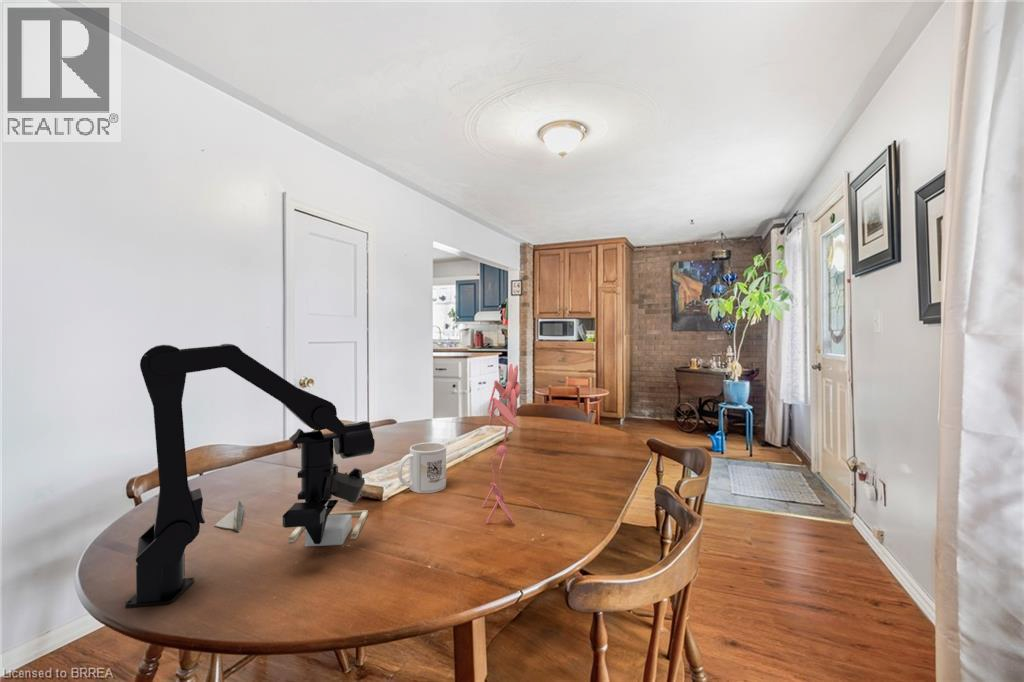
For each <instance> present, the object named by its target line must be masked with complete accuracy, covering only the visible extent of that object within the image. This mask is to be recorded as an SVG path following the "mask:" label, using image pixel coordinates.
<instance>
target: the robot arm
mask: <svg viewBox="0 0 1024 682" xmlns="http://www.w3.org/2000/svg"><path fill="white" fill-rule="evenodd" d="M139 361H140V363H139V368H140V371H141V374H142V375H141V376H142V377H143V380H144V384H145V387H146V390H147V393H148V395H149V398H150V401H151V404H152V408H153V423H154V434H155V445H156V447H155V448H156V457H157V470H158V471H157V472H158V482H159V484H158V485H159V486H158V487H159V492H158V496H157V497H158V499H157V503H156V510H155V517H154V523H153V524H152V525H151V526H150V527H148V529H146V531H145V532H144V533H143V534H141V535H140V536H139V537H138V540H137V548H136V555H135V562H136V566H135V576H136V577H135V580H136V581H135V584H136V585H135V586H136V587H135V590H136V591H135V592H136V593H135V594H134V595H133V596H132V597H131V598H130V599H128V600H127V601H125V603H124V607H125V608H128V607H145V606H155V605H156V606H158V605H169V604H171V603H173V602H174V601H175V600H176V599H177V598H178V597H180V596H181V594H183V593H184V592H185V591H186V590H187V589H188V588H189V587H190V586H191V585H192V584H193V583H194V582H195V577H185V576H186V575H185V574H186V567H185V566H186V565H185V563H186V559H185V557H186V554H185V550H186V548H187V546H188V545H189V544H191V543H192V542H193V541H194V540H195V539H196V538H197V537H198V535H199V534H200V529H201V524H202V525H203V524H205V523H206V520H205V515H204V511H203V501H204V500H203V499H204V498H203V494H202V489H201V488H197V489H194V490H191V487H190V485H189V481H188V480H189V479H188V469H187V468H188V467H187V454H186V453H187V452H186V441H185V426H184V415H183V397H184V391H185V385H186V378H187V374H189V373H195V372H196V373H197V372H203V371H209V370H215V369H220V368H225V369H228V370H229V371H231V372H233V373H234V374H236V375H238V376H239V377H241V378H242V379H243V380H245V381H247V382H248V383H250V384H251V385H254V386H255V387H256V388H258V389H259V390H262V391H263V392H265V393H266V394H267V395H269V396H271V397H272V398H274V399H276V400H277V401H279V402H280V403H281V404H282V405H283V406H284V407H285V408H286V409H288V411H289V412H291V413H292V414H293V415H294V416H295V417H296V418H297V419H298V420H299V421H300V422H301V423H302V424H304V425H306V426H307V427H308V428H310V429H312V431H303V430H302V429H301V428H298V429H297V430H296V431H295V433H294V434H293V435H291V436H290V437H289V438H288V440H289V441H290V442H291V443H292V444H293V445H300V449H301V450H300V452H301V453H300V455H301V456H300V458H301V459H300V460H301V461H300V464H301V465H300V466H301V467H300V468H301V469H300V470H299V471H298V472H297V479H301V480H300V481H301V487H300V488H301V489H300V490H301V491H300V492H299V493H297V500H298V501H300V500H304V502H295V503H293V504H292V506H290V507H289V509H287V510H286V512H285V513H284V514H282V527H283V528H297V527H305V528H304V530H305V531H306V530H307V532H308V534H309V535H310V537H311V539H312V540H313V542H314V544H320V543H321V541H322V538H323V534H324V530H325V526H326V521H327V518H328V515H329V514H330V512H333V509H334V508H335V507H336V505H337V504H338V503H339V500H338V499H339V498H340V499H342V500H346V501H347V502H349V503H353V504H355V503H356V502H357V501H358V499H359V497H361V493H362V490H363V488H364V485H365V482H366V481H365V479H366V478H365V477H363V472H362V469H359V468H356V467H354V468H353V469H351V471H350V472H349V473H348V472H339V466H338V465H337V463H335V462H334V458H335V457H334V455H339V456H340V458H341V459H343V460H345V459H351V458H356V457H362V456H367V455H368V456H369V455H372V454H373V453H374V451H375V446H376V445H375V442H376V441H375V438H374V436H373V435H374V434H373V431H372V429H371V423H370V422H369V421H366V420H363V421H358V422H356V423H347V424H344V422H342V420H341V419H340V418H339V417H338V412H337V407H336V406H335V405H334V404H333V402H331V401H329V400H327V399H325V398H322V397H320V396H318V395H315V394H313V393H311V392H309V391H306V390H304V389H301V388H299V387H297V386H296V385H294V384H292V382H289V381H288V380H286V379H285V378H283V377H282V376H280V375H278V374H277V373H276V372H275V371H273V370H271V369H269V368H268V367H267V366H265V365H264V364H262V363H261V362H259V361H257V360H256V359H254V358H253V357H252V356H250V355H249V354H247V353H246V352H244V351H243V350H242V349H241V348H240V347H239V346H238V345H235V344H233V343H222V344H220V345H211V346H203V347H189V348H188V347H187V348H181V349H180V348H178V347H177V346H173V345H170V344H160V345H155V346H153V347H151V348H149V349H148V350H147V351H146V352H145V353H144V354H143V355H142V356H141V358H140V360H139ZM323 430H328V431H330V433H323V432H322V431H323ZM334 452H335V453H334ZM333 496H334V497H335V498H338V499H332V497H333Z"/></svg>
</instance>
